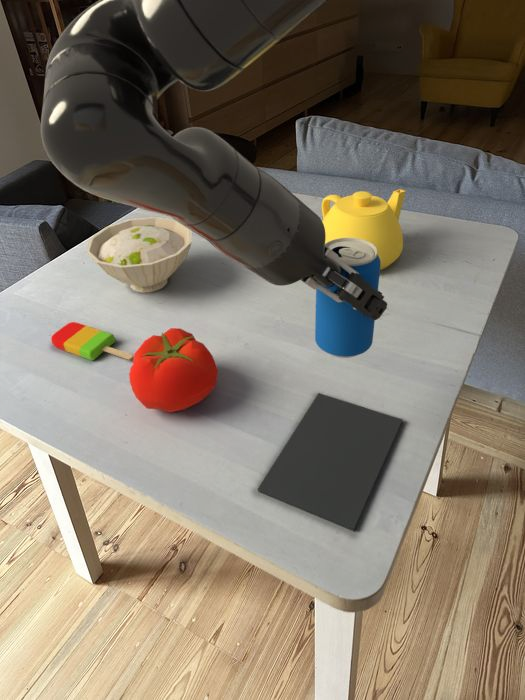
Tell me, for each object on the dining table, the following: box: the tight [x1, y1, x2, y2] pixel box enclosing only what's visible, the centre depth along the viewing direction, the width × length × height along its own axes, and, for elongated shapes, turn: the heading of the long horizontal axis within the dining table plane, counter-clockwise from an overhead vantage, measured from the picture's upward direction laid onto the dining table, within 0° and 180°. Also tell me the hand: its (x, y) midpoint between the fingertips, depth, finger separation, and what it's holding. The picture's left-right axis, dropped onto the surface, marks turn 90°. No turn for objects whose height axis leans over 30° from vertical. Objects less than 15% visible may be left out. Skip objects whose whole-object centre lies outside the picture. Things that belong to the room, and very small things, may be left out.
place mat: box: [257, 392, 403, 532], centre depth 67 cm, size 18×12×1 cm, turn 152°
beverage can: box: [314, 238, 381, 359], centre depth 58 cm, size 6×6×12 cm
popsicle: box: [50, 321, 134, 361], centre depth 86 cm, size 6×15×2 cm, turn 62°
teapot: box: [321, 188, 406, 271], centre depth 103 cm, size 20×19×13 cm
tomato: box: [128, 327, 219, 413], centre depth 75 cm, size 13×12×8 cm
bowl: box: [85, 216, 193, 294], centre depth 98 cm, size 19×19×10 cm
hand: (357, 296), depth 58 cm, fingers closed on beverage can, 6 cm apart
